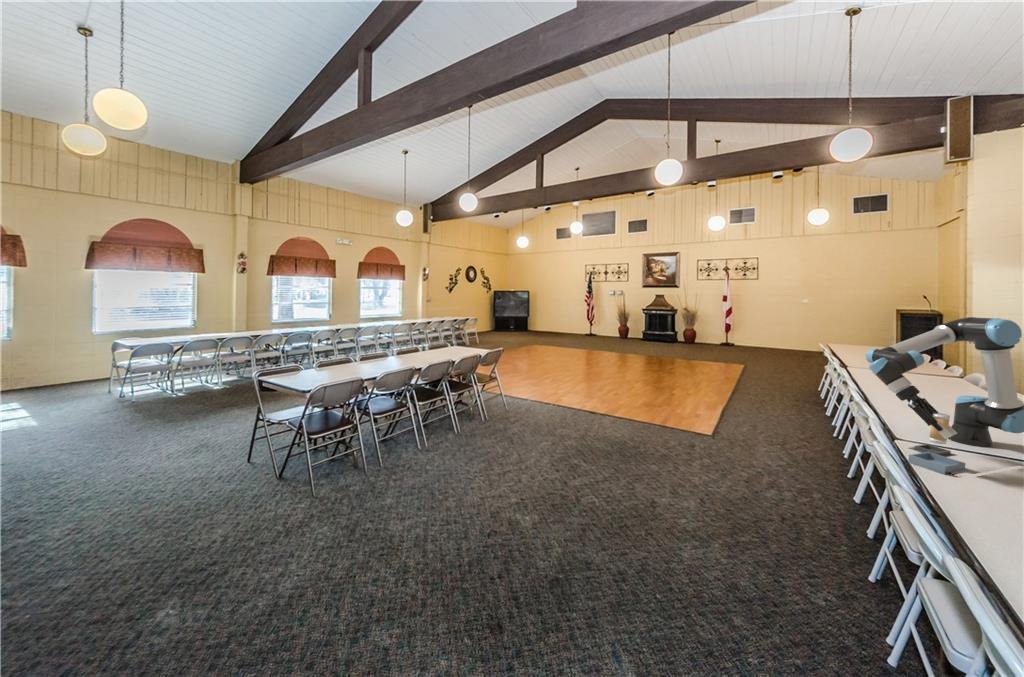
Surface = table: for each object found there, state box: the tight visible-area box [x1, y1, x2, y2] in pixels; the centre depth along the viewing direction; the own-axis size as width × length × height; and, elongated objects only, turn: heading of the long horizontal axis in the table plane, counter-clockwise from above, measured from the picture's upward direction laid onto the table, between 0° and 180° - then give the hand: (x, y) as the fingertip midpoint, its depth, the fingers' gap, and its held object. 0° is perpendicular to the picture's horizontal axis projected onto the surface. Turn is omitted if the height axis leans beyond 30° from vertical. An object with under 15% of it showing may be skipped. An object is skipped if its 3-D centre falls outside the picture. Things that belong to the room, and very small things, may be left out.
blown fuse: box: [928, 412, 951, 445], centre depth 171 cm, size 5×5×12 cm
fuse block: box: [907, 443, 957, 458], centre depth 187 cm, size 12×12×2 cm
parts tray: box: [907, 452, 967, 476], centre depth 173 cm, size 12×12×4 cm
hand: (951, 436), depth 168 cm, fingers closed on blown fuse, 5 cm apart
